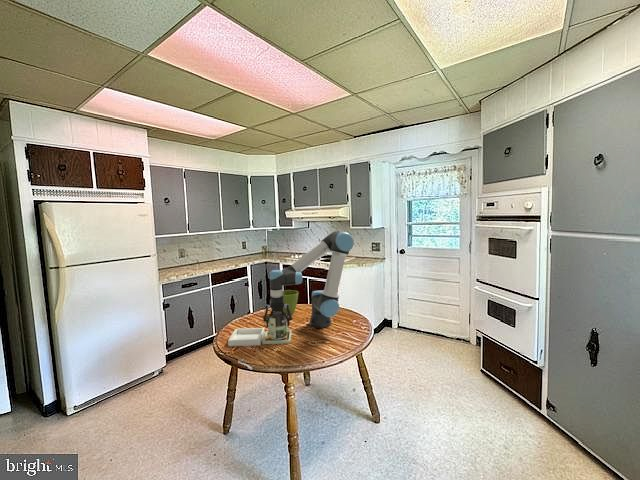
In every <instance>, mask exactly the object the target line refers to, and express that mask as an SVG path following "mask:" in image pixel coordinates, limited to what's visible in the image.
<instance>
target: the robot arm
mask: <svg viewBox="0 0 640 480" xmlns="http://www.w3.org/2000/svg"><path fill="white" fill-rule="evenodd" d="M354 244H355V241H354V238H353V236H352V235H351V233H348V232H345V231H338V230H337V231H336V230H335V231H332V232H331V233H330V234H328V235H326V237H324V238H323V239H321V240H320V242H319V244H317V245H316V246H315V247H313V248H312V249H311V250H309V251H308V252H307V253H306V254H303V256H301V257H299V259H297V260H296V261H295V262H293V263H292V264H291V265H289V266H288V267H284V268H283V269H282V270H281V269H273V270H271V271H270V272H269V287H270V288H269V289H270V290H269V291H270V293H269V294H270V304H266V305H265V310H264V311H265V312H264V314H263V315H264V316H263V322H264V323H266V328H267V329H268V330H267V331H268V333H270V322H269V316H268V311H269V309H270V308H271V311H270V313H269V314H270V315H272V314H273V312H276V311H281V313H282V314H283V315H284V314H285V311H284V310H283V307H284V306H285V308H287V312H288V314H286V332H288V330H289V327H290V326H291V325H290V323H291V322H290V321H292V320H293V316H292V315H293V314H291V313H290V310H289V304H284V302H283V291H284V286H295V285H301V284H302V283H303V274H302V272H304V270H306V269H307V268H308V267H310V266H311V265H312V264H314V263H315V262H316V261H317V260H319V259H320V258H322V257H323V256H324V255H325V254H327V253H330V252H331V258H330V261H329V262H330V263H329V267H328V272H327V275H326V281H325V286H324V289H323V290H313V291H312V292H311V315H310V316H309V317H310V318H309V321H308V323H309V326H310V327H313V328H318V329H319V328H320V329H324V327H325V328H328V326H329V327H331V326H332V324H331V323H332V317H334V316H336V315H337V314H338V313H339V310H340V304H339V298H340V296H339V294H338V292H339V286H340V283H341V278H342V273H343V270H344V265H345V260H346V257H347V256H349V254H350V253H349V252H350V251H351V250H352V248H354V246H355V245H354ZM267 316H268V317H267Z"/></svg>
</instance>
